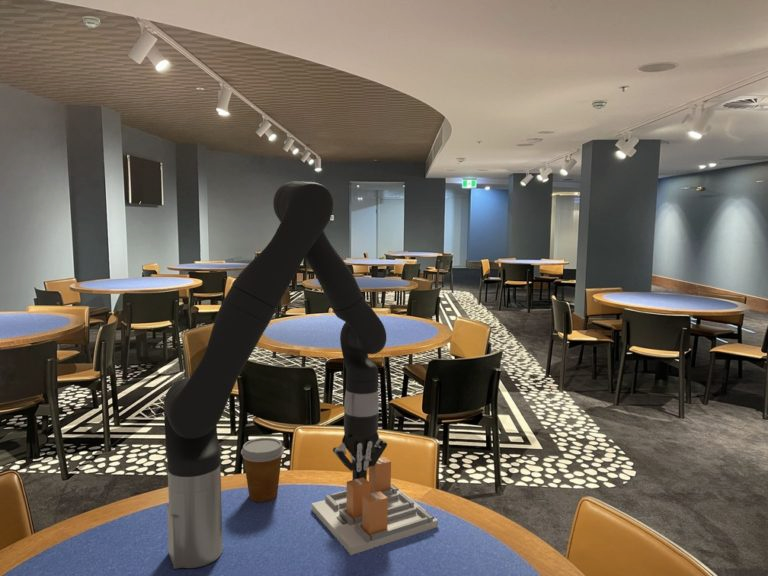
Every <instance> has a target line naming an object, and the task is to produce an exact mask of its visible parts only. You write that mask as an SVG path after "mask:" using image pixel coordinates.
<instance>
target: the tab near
mask: <svg viewBox="0 0 768 576" xmlns="http://www.w3.org/2000/svg"><path fill="white" fill-rule="evenodd" d="M387 525H388V497H386V496H385V495H384V494H383V493H382V492H381V491H379V492H375V493H371V494H368V495H364V496H362V529H363V530H364V531H365V532H366V533H367V534H368V535H369V536H370V537H371V534H374V533H377V532H381V531H384V530H387Z"/></svg>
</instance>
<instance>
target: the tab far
mask: <svg viewBox="0 0 768 576" xmlns="http://www.w3.org/2000/svg"><path fill="white" fill-rule="evenodd" d="M368 481H369V482H370V491H371V492H372V493H375V492H379V491H385V490H389V489H391V484H392V461H391V460H390V459H388V458H387V457H386V456H380V458H379V459H378V461H377V462H376V464H375V465H374V466H370V467H368Z"/></svg>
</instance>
